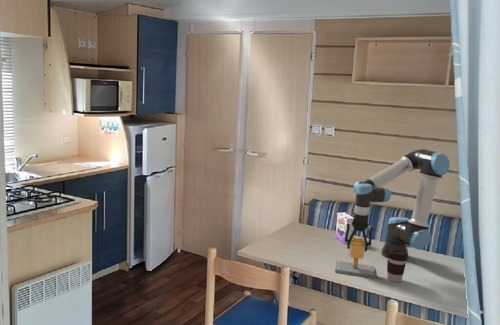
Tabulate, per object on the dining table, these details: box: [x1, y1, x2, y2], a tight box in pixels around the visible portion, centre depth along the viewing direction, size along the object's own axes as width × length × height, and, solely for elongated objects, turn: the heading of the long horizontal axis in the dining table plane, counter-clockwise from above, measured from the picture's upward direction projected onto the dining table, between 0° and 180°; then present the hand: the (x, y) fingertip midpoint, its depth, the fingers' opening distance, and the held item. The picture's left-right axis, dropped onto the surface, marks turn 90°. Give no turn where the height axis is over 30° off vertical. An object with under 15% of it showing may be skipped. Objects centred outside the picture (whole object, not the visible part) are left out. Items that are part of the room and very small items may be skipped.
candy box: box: [334, 212, 354, 245], centre depth 307 cm, size 14×6×16 cm, turn 17°
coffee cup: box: [386, 250, 409, 283], centre depth 248 cm, size 10×10×15 cm
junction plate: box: [334, 258, 376, 279], centre depth 258 cm, size 20×14×8 cm
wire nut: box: [349, 236, 365, 260], centre depth 256 cm, size 6×6×10 cm
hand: (356, 255), depth 257 cm, fingers closed on wire nut, 6 cm apart
